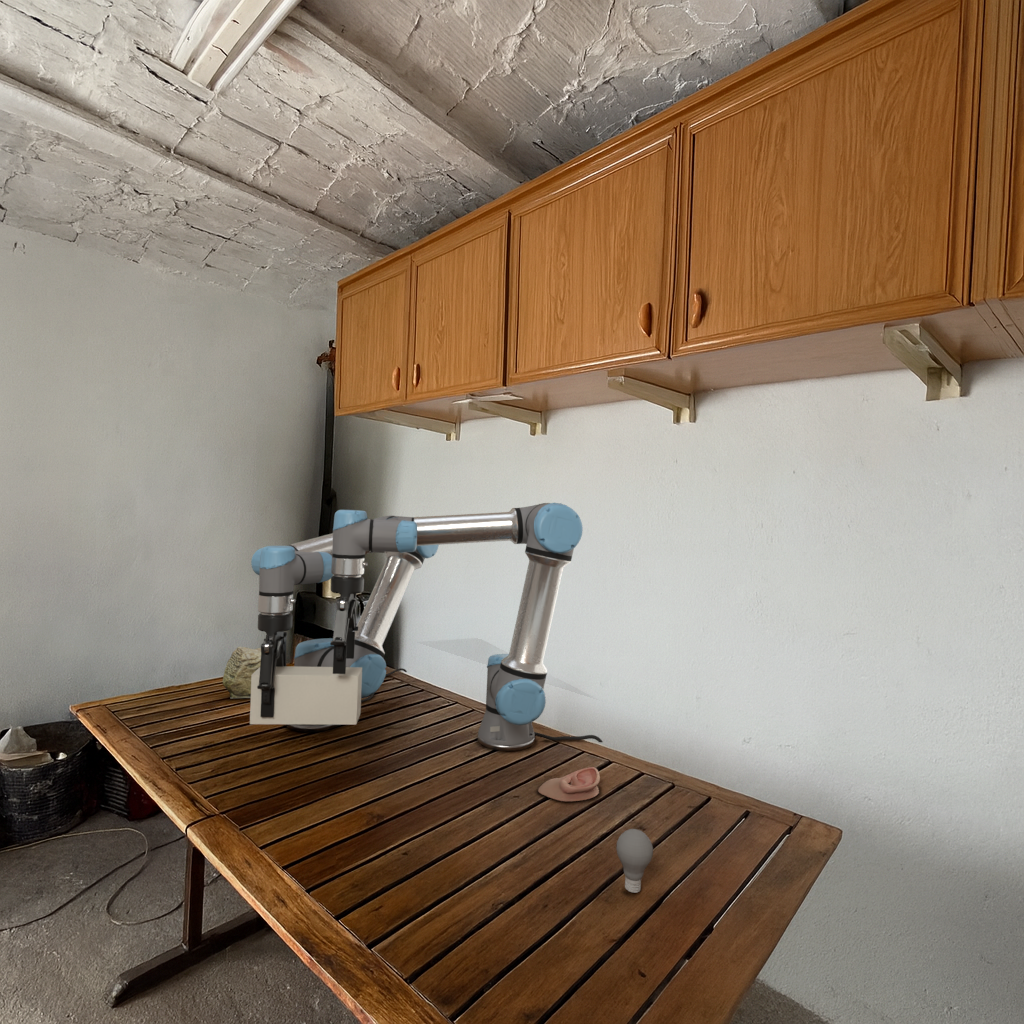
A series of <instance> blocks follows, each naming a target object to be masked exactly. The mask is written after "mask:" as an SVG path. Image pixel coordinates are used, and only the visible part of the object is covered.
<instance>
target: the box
mask: <svg viewBox="0 0 1024 1024" xmlns="http://www.w3.org/2000/svg"><path fill="white" fill-rule="evenodd" d="M259 676H260V667H259V668H258V669H257V670H256V671H255V672H254V673H253V674H252V675H251V698H250V703H249V704H250V706H249V707H250V708H249V709H250V710H249V711H250V712H249V725H286V724H322V725H339V726H341V725H346V726H347V725H348V726H349V725H351V726H352V725H354V726H355V725H356V726H357V724H358V721H359V720H360V716H361V713H362V702H361V700H362V698H361V688H362V667H346V673H345V674H333V667H296V666H294V665H293V666H292V665H291V666H289V665H286V666H283V667H279V666H276V670H275V677H274V687H273V688H275V695H274V716H273V717H261V689H258V688H257V686H259Z"/></svg>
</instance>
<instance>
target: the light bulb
mask: <svg viewBox="0 0 1024 1024" xmlns="http://www.w3.org/2000/svg"><path fill="white" fill-rule="evenodd" d="M615 849H616V854H617V857H618V859H619V861H620V863H621V865H622V867H623V873H624V874H623V875H624V876H625V878H624V888H625V890H627V891H628V892H630V893H634V894H635V893H639V892H640V891H641V889H642V887H641V886H642V879H643V877H644V875H645V871H646V868H647V867H648V866H649V864H650V863H651V861H652V859H653V855H654V847H653V843H652V841H651V838H649V836H648V835H647V834H646V833H645V832H643V831H642V830H641V829H636V828H629V829H627V830H625V831H623V832H622V833H621V834H620V835H619V837H618V839H617V841H616V847H615Z"/></svg>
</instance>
